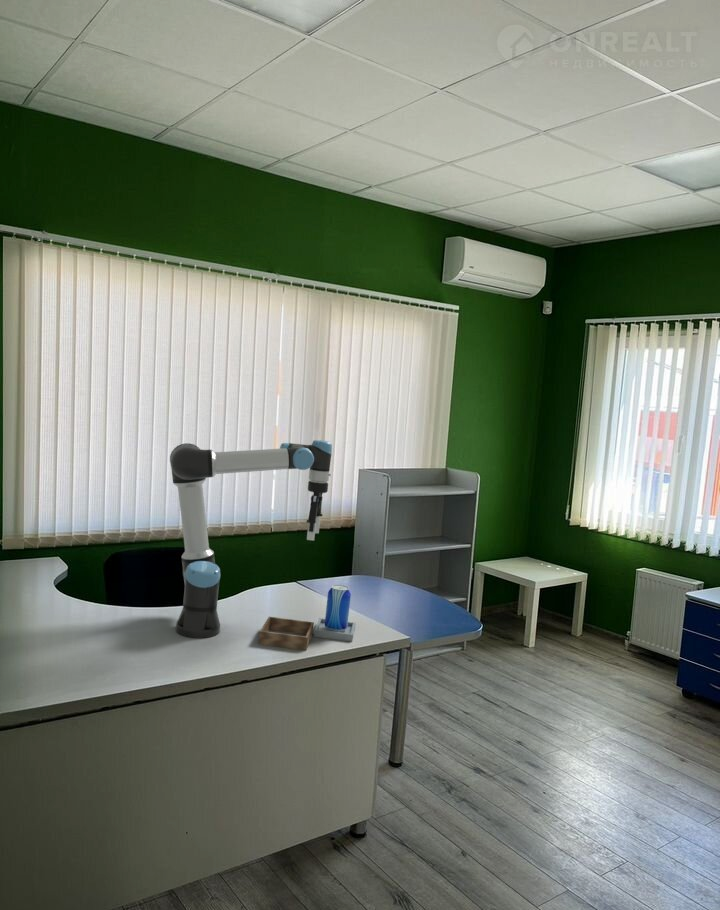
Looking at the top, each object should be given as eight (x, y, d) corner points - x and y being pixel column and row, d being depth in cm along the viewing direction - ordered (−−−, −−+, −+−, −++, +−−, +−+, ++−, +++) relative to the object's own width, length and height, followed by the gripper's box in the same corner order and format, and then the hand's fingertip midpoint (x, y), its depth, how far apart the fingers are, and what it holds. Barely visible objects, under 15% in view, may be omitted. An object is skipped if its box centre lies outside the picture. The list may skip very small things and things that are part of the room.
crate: (258, 644, 246) (259, 631, 246) (267, 628, 262) (268, 616, 262) (306, 650, 245) (307, 637, 245) (312, 634, 262) (313, 622, 261)
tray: (313, 636, 259) (314, 629, 259) (318, 624, 273) (319, 617, 273) (352, 641, 258) (353, 634, 258) (355, 629, 272) (355, 622, 272)
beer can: (344, 634, 261) (348, 591, 260) (321, 630, 263) (326, 588, 261) (349, 627, 269) (353, 586, 268) (327, 624, 271) (331, 582, 269)
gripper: (324, 486, 259) (318, 544, 261) (331, 478, 284) (326, 531, 286) (304, 484, 259) (298, 541, 261) (313, 476, 284) (307, 529, 286)
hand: (312, 536), depth 274 cm, fingers open, 13 cm apart
